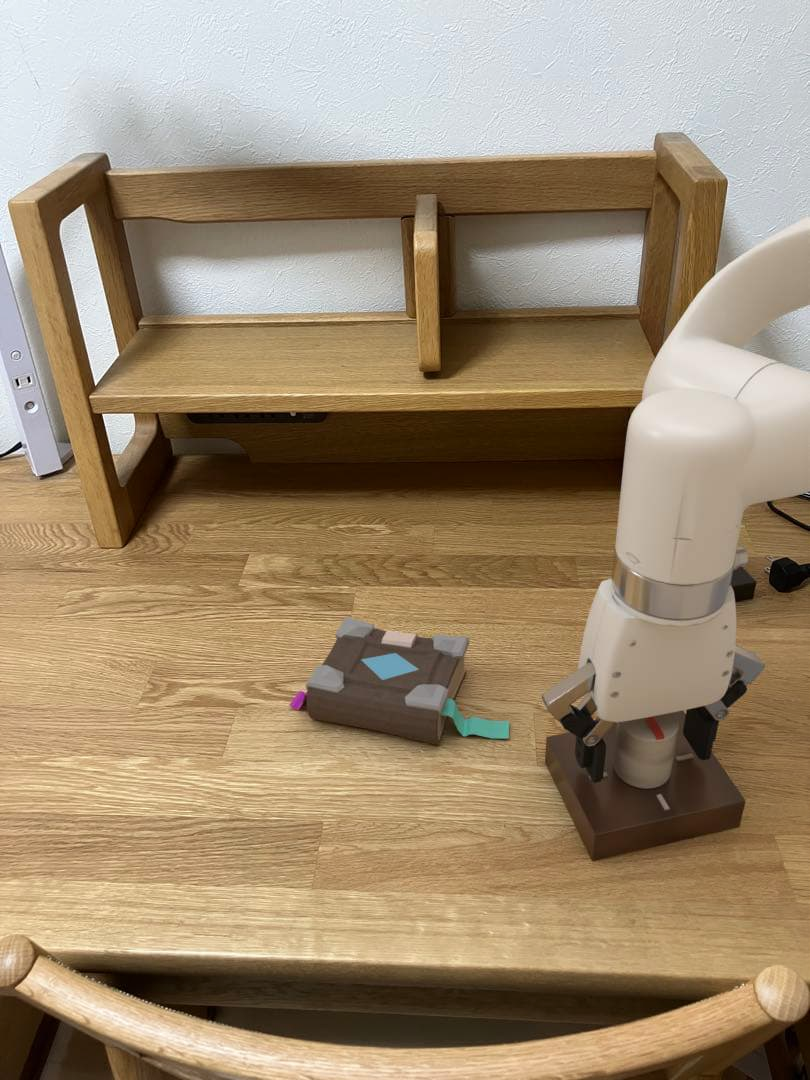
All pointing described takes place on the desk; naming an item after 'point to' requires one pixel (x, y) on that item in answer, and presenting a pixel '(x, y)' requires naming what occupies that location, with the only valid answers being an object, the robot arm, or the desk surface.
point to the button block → (742, 585)
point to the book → (393, 684)
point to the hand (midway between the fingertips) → (643, 756)
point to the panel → (643, 798)
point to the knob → (646, 750)
